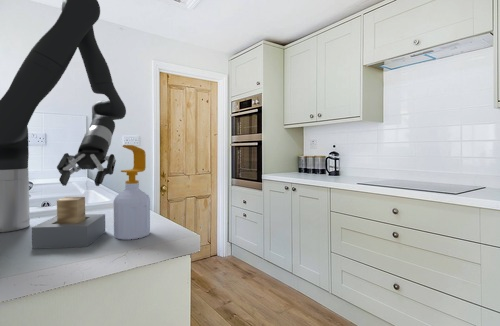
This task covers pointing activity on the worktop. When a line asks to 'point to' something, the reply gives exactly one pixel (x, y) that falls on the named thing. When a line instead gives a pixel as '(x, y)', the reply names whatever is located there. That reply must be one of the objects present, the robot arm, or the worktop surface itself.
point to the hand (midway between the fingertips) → (80, 184)
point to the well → (68, 232)
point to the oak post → (70, 210)
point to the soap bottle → (132, 203)
